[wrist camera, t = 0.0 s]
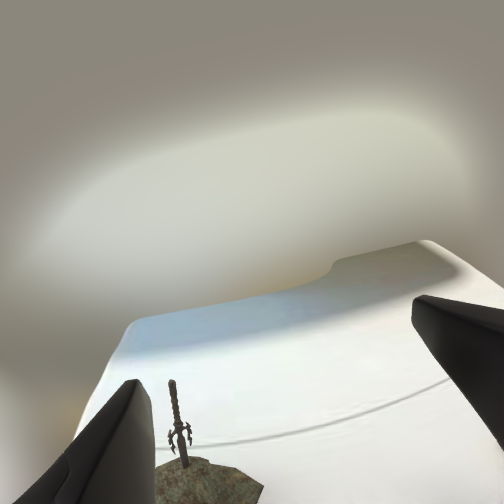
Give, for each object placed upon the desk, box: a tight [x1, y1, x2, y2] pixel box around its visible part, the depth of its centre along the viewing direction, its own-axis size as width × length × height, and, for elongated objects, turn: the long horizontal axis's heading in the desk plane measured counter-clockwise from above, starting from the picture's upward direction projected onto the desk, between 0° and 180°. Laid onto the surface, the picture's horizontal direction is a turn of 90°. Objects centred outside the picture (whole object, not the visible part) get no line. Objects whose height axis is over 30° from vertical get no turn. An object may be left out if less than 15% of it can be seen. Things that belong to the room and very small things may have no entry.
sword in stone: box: [155, 380, 263, 504], centre depth 14 cm, size 10×8×12 cm
